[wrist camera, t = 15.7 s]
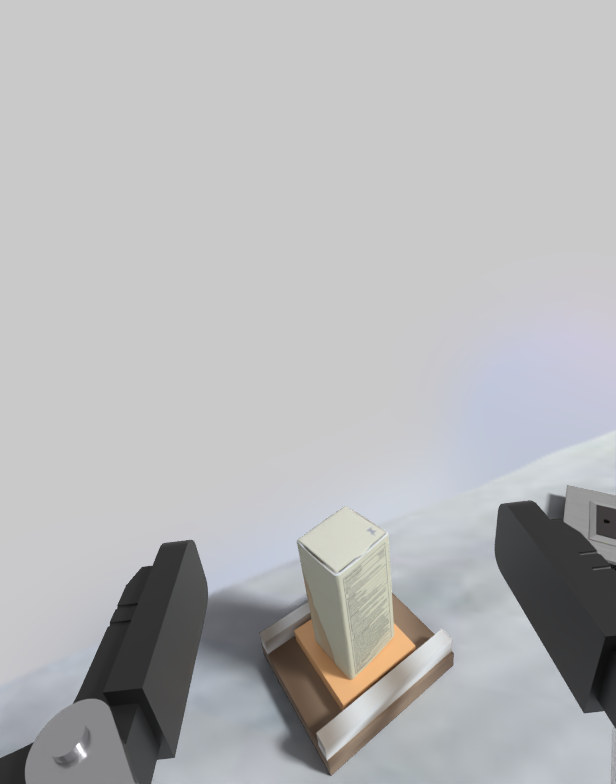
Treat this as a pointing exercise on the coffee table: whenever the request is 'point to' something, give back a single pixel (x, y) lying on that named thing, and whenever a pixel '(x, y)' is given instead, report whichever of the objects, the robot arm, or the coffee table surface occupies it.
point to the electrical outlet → (593, 519)
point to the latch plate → (368, 677)
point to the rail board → (372, 709)
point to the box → (348, 588)
